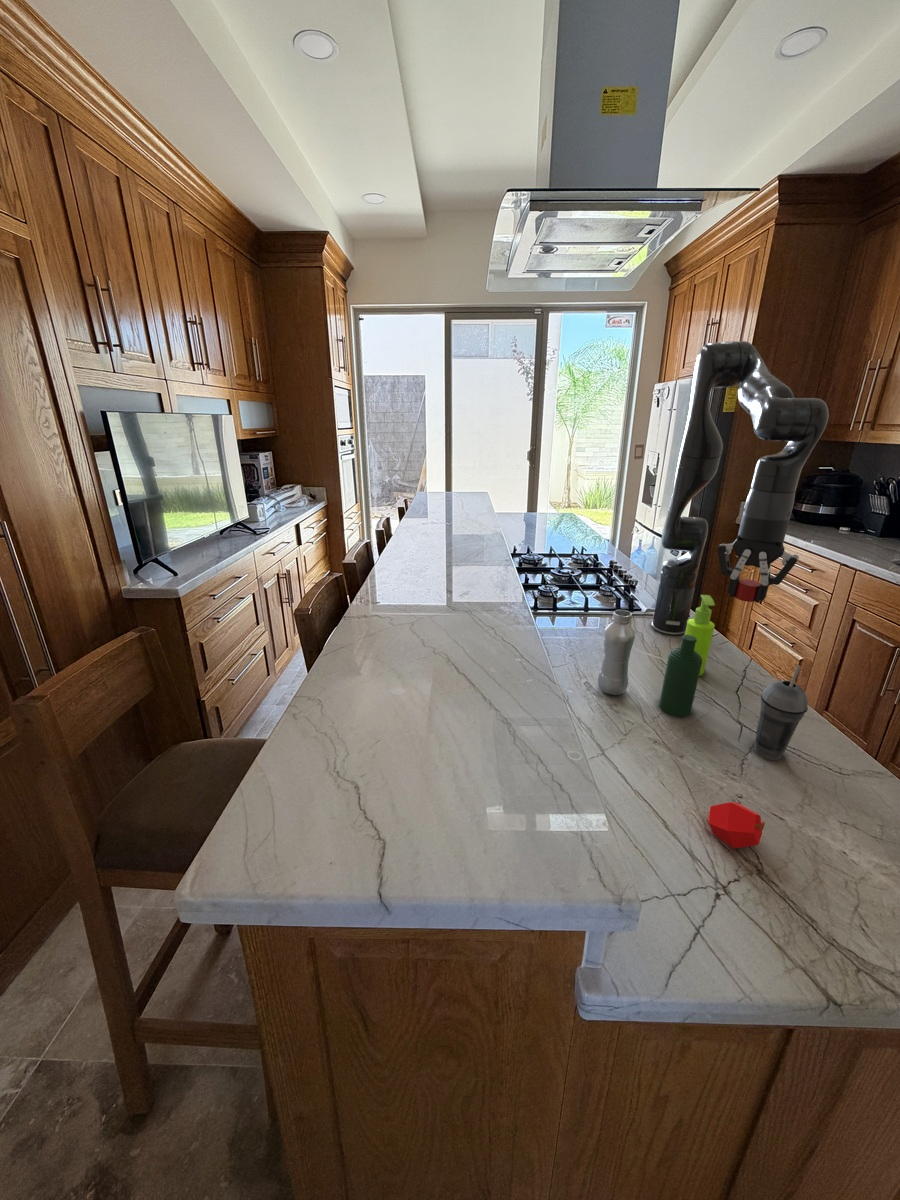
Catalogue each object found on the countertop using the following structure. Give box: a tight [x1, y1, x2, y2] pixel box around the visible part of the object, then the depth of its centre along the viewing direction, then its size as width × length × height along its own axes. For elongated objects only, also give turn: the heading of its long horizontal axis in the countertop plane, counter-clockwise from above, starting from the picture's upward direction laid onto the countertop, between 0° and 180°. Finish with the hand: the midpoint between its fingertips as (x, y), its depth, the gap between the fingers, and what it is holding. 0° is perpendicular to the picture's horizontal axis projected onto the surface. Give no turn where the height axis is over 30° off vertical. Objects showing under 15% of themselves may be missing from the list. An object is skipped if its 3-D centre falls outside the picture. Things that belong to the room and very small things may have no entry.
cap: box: [734, 578, 761, 603], centre depth 96 cm, size 4×4×3 cm
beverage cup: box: [754, 664, 809, 761], centre depth 89 cm, size 7×7×20 cm
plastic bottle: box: [597, 609, 636, 696], centre depth 109 cm, size 6×7×20 cm
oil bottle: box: [658, 634, 702, 718], centre depth 103 cm, size 6×6×18 cm
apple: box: [707, 801, 766, 850], centre depth 74 cm, size 7×7×8 cm
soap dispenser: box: [684, 594, 716, 677], centre depth 117 cm, size 6×7×20 cm
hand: (745, 598), depth 97 cm, fingers closed on cap, 4 cm apart
